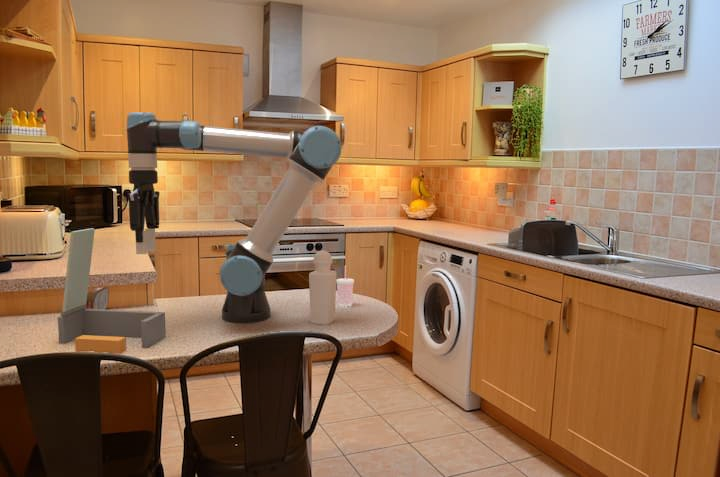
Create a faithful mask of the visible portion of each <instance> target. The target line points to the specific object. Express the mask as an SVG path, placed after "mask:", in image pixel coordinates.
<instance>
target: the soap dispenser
mask: <svg viewBox="0 0 720 477" xmlns="http://www.w3.org/2000/svg"><path fill="white" fill-rule="evenodd" d="M312 264H314V267H315V270H313V271H311V272H309V274H308V284H309V286H308V287H309V288H308V289H309V304H310V305H309V307H310V308H309V309H310V323H311V324H314V325H315V324H318V325H323V326H324V325H325V326H328V325H330V324H332V323H333V322H334V321H335V318H336V317H335V316H336V292H337V283H336V282H337V281H336V280H337V274H338V273H337V271H336V270H335V269H334V270H333V269H332V270H331V265H332V264H333V258H332V255H331V253H330V252H328V251H327V250H319V251H317V252H316V253H315V254H314V257H313V260H312Z"/></svg>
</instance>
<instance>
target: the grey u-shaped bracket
mask: <svg viewBox="0 0 720 477" xmlns="http://www.w3.org/2000/svg"><path fill="white" fill-rule="evenodd" d="M57 325H58V326H57V327H58V328H57V329H58V343H59V344H67V343H69V342H71V341H72V340H75V338H77V337H79V336H82V335H92V336H112V337H126V338H127V337H128V338H141V348H146V349H148V348H150V347H151V346H153V345H155V344H156V343H159V342H160V341H162V340H164V339H165V338H166V337H167V336H166V335H167V334H166V333H167V332H166V329H167V328H166V312H165V311H146V310H144V311H143V310H123V309H106V310H103V309H84V310H81V311H79V312H76V313H73V314H71V315H68V316H66V317H62V316H61V315H60V316H58V317H57Z"/></svg>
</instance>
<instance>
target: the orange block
mask: <svg viewBox="0 0 720 477" xmlns="http://www.w3.org/2000/svg"><path fill="white" fill-rule="evenodd" d="M74 345H75V352H78V351H94V352H93V353H97V352H108V353H107V354H116V353H117V354H118V355H119V354H122V353H123V352H125V351H127V337H122V336H102V335H82V336H79V337H77V338H75V339H74Z"/></svg>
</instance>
